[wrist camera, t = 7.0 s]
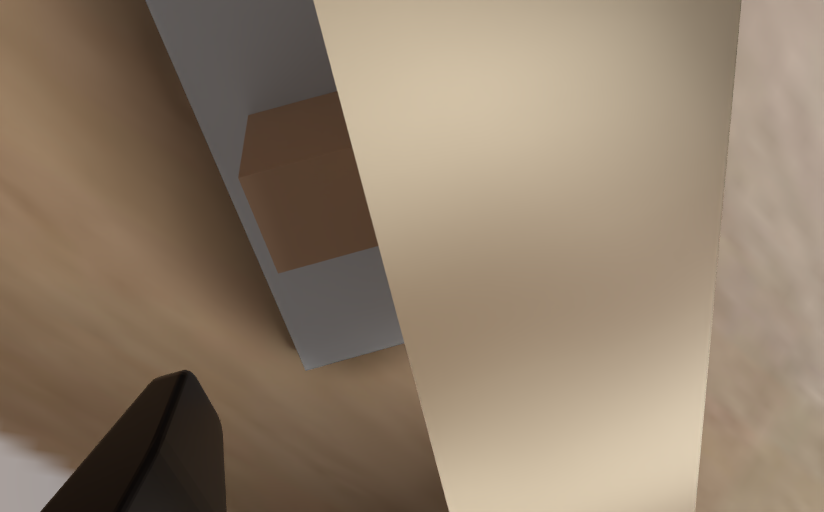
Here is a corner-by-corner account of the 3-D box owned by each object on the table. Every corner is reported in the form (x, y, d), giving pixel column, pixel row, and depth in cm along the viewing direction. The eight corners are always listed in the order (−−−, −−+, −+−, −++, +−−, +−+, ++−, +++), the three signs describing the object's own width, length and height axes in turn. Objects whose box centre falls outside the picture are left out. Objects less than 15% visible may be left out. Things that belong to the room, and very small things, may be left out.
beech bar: (603, 464, 16) (684, 623, 13) (450, 504, 16) (492, 675, 13) (558, -696, 6) (862, -1314, 3) (160, -613, 6) (3, -1159, 3)
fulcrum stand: (657, 257, 18) (733, 341, 15) (305, 355, 17) (308, 460, 14) (655, -307, 11) (792, -366, 8) (86, -157, 11) (9, -159, 8)
